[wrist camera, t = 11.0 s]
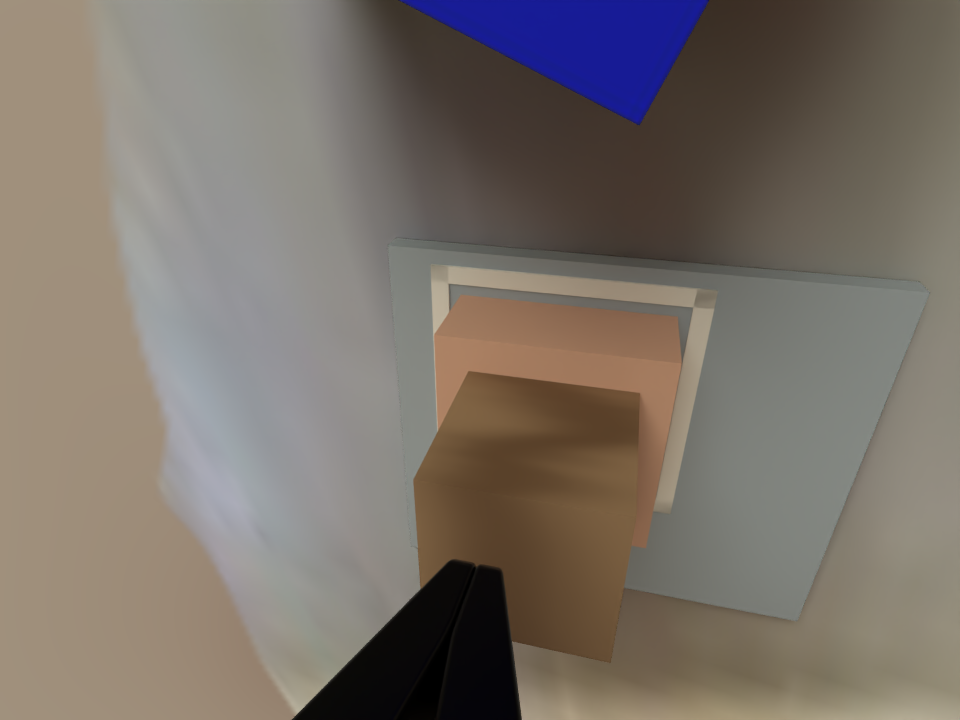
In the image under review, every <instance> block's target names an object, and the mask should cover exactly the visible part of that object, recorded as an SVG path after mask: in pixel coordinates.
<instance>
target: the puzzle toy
mask: <svg viewBox="0 0 960 720" xmlns="http://www.w3.org/2000/svg"><path fill="white" fill-rule="evenodd" d="M399 1H401V2H403V3H405V4H407V5H409V6H411V7H413V8H415V9H417V10H418V11H420V12H422V13H424V14H426V15H428V16H430V17H432V18H434V19H436V20H438V21H440V22H442V23H443V24H445V25H447V26H449V27H451V28H453V29H455V30H457V31H459V32H461V33H463V34H465V35H466V36H468V37H470V38H472V39H474V40H476V41H478V42H480V43H482V44H484V45H486V46H488V47H489V48H491V49H493V50H495V51H497V52H499V53H501V54H503V55H505V56H507V57H509V58H511V59H513V60H514V61H516V62H518V63H520V64H522V65H524V66H526V67H528V68H530V69H532V70H534V71H536V72H537V73H539V74H541V75H543V76H545V77H547V78H549V79H551V80H553V81H555V82H557V83H559V84H561V85H562V86H564V87H566V88H568V89H570V90H572V91H574V92H576V93H578V94H580V95H582V96H584V97H585V98H587V99H589V100H591V101H593V102H595V103H597V104H599V105H601V106H603V107H605V108H607V109H608V110H610V111H612V112H614V113H616V114H618V115H620V116H622V117H624V118H626V119H628V120H630V121H632V122H633V123H635V124H637V125H640V123H641V122H642V120H643V118H644V116H645V115H646V113H647V111H648V109H649V107H650V106H651V104H652V102H653V100H654V98H655V97H656V95H657V93H658V91H659V89H660V88H661V86H662V84H663V82H664V80H665V79H666V77H667V75H668V73H669V72H670V70H671V68H672V66H673V64H674V63H675V61H676V59H677V57H678V55H679V54H680V52H681V50H682V48H683V46H684V45H685V43H686V41H687V39H688V37H689V36H690V34H691V32H692V30H693V29H694V27H695V25H696V23H697V21H698V20H699V18H700V16H701V14H702V12H703V11H704V9H705V7H706V5H707V3H708V2H709V0H399Z"/></svg>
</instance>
